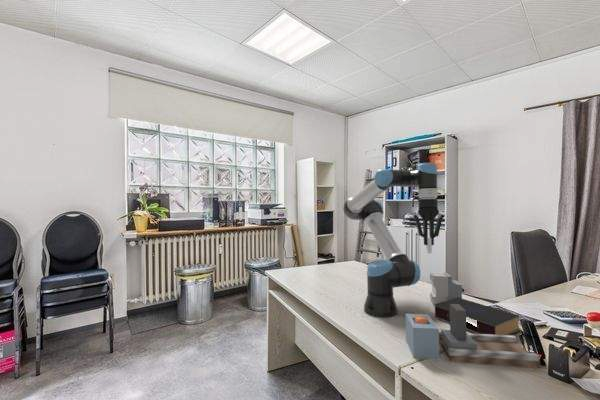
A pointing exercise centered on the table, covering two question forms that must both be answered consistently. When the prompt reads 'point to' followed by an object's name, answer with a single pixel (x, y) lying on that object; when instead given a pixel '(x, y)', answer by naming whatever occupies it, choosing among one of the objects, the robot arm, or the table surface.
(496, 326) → the book
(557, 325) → the table surface
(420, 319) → the button
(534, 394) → the table surface
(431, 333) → the end cabinet
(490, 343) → the rail board
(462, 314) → the carriage
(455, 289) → the circuit breaker
